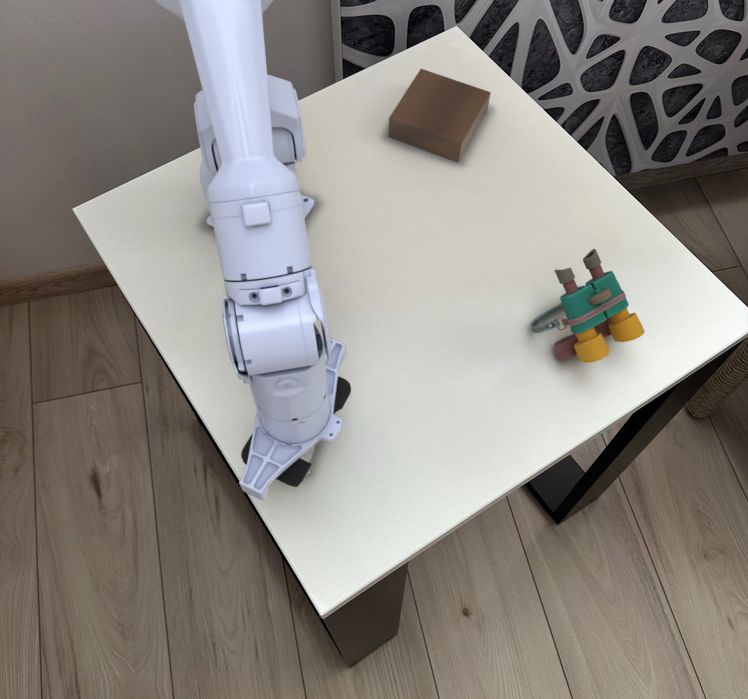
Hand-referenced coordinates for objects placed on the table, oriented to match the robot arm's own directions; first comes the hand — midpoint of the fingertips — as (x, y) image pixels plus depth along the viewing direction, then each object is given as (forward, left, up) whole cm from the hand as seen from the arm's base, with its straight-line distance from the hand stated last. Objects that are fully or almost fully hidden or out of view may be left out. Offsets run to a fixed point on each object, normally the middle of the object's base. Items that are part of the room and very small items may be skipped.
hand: (303, 451), depth 70 cm
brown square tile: (-5, +44, -2) cm, 44 cm away
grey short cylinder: (0, 0, -2) cm, 2 cm away
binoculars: (+19, +23, -2) cm, 30 cm away
